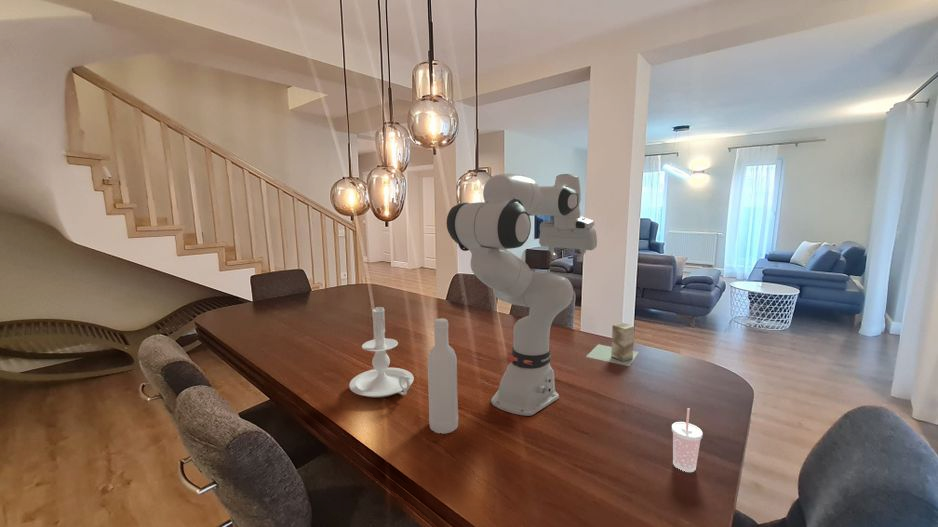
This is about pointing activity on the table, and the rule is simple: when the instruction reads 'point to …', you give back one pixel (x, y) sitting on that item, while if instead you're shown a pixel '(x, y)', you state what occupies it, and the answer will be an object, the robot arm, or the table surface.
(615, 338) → the block
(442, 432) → the bottle
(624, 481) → the table surface
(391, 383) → the candlestick
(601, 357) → the mat
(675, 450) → the beverage cup
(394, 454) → the table surface
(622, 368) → the table surface
